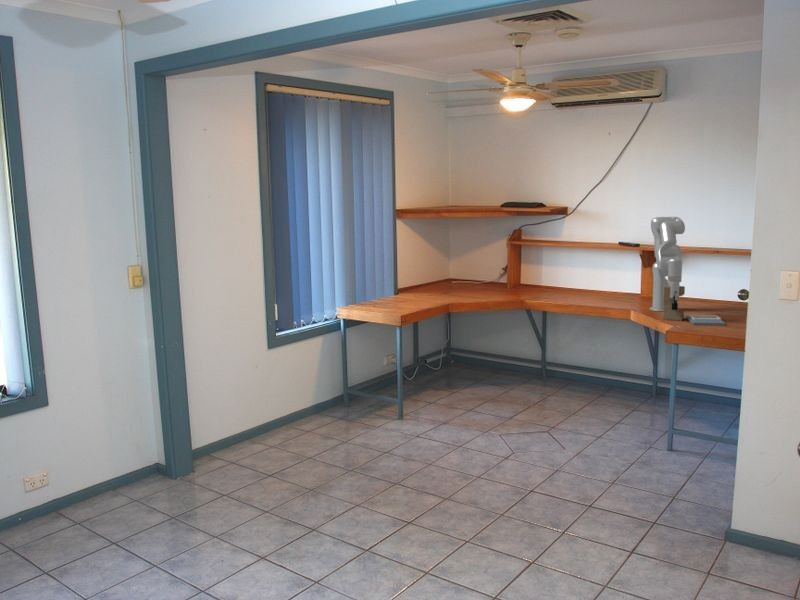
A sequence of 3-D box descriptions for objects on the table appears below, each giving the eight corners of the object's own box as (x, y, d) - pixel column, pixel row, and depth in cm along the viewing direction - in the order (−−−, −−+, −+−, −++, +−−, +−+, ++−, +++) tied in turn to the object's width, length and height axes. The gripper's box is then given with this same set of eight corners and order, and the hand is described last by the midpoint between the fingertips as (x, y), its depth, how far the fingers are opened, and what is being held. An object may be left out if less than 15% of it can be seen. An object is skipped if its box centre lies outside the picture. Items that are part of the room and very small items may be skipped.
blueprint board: (684, 317, 414) (684, 313, 414) (714, 317, 411) (714, 313, 411) (693, 324, 391) (693, 320, 391) (725, 325, 388) (725, 321, 387)
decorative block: (683, 319, 409) (685, 286, 405) (681, 320, 404) (683, 287, 400) (664, 317, 415) (665, 285, 411) (662, 319, 410) (663, 286, 406)
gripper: (665, 277, 415) (664, 306, 417) (670, 281, 398) (669, 311, 401) (678, 277, 413) (677, 306, 416) (684, 281, 396) (683, 311, 399)
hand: (673, 308), depth 408 cm, fingers closed on decorative block, 6 cm apart
